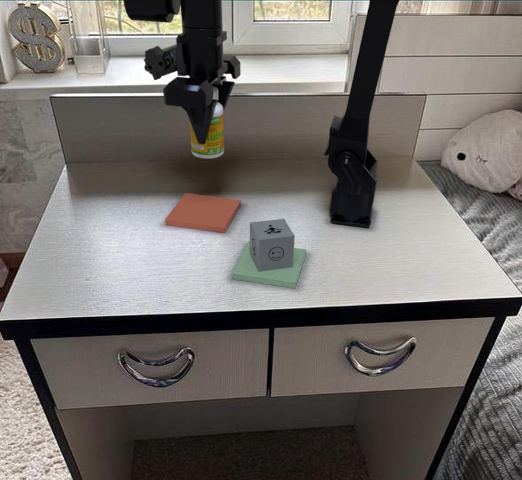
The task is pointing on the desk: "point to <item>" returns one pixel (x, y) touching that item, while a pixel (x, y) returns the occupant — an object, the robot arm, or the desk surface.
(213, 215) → the terracotta mat
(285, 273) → the green mat
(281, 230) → the dice cube
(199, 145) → the supplement bottle
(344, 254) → the desk surface
